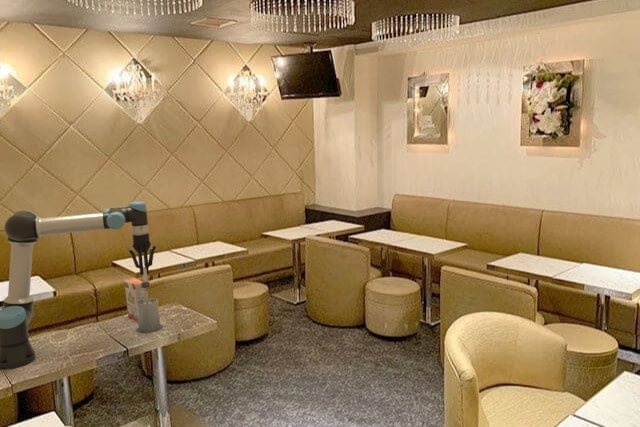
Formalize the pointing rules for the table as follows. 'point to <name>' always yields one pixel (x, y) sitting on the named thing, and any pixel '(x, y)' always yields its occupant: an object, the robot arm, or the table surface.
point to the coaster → (149, 332)
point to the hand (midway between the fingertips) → (145, 280)
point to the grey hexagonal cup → (148, 315)
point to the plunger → (146, 285)
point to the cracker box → (133, 296)
